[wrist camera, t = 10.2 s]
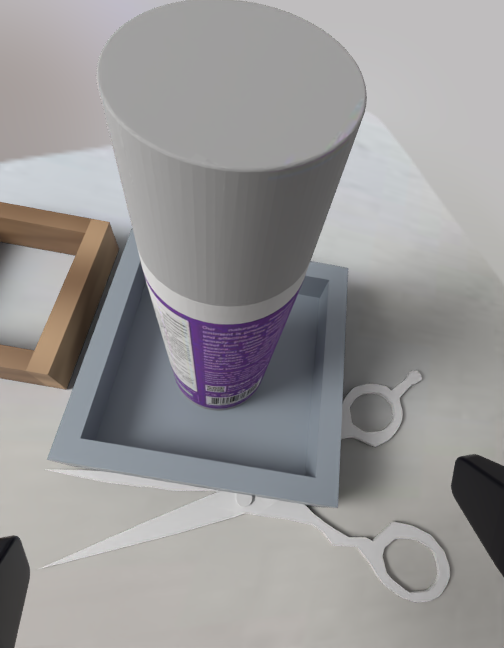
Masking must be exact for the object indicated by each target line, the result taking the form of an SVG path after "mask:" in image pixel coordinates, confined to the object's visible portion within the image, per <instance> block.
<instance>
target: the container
mask: <svg viewBox="0 0 504 648" xmlns="http://www.w3.org/2000/svg"><path fill="white" fill-rule="evenodd" d="M97 84H98V89H99V93H100V97H101V101H102V105H103V110H104V114H105V117H106V122H107V126H108V130H109V134H110V138H111V142H112V146H113V150H114V154H115V159H116V163H117V167H118V171H119V175H120V179H121V183H122V187H123V191H124V195H125V199H126V203H127V208H128V212H129V216H130V220H131V224H132V228H133V232H134V236H135V240H136V244H137V248H138V252H139V257H140V261H141V266H142V269H143V273H144V276H145V279H146V283H147V286H148V290H149V293H150V296H151V300H152V303H153V306H154V310H155V313H156V317H157V320H158V323H159V327H160V330H161V333H162V337H163V340H164V343H165V347H166V350H167V354H168V357H169V360H170V364H171V367H172V370H173V374H174V377H175V380H176V383H177V385H178V387H179V389H180V390H181V392H182V393H183V395H184V396H185V397H186V398H187V399H188V400H190V401H191V402H192V403H194V404H195V405H197V406H199V407H202V408H204V409H208V410H216V411H221V410H228V409H232V408H235V407H237V406H240V405H241V404H243V403H244V402H246V401H247V400H248V399H250V398H251V397H252V395H253V394H254V393H255V392H256V390H257V389H258V387H259V385H260V383H261V381H262V379H263V376H264V374H265V371H266V369H267V367H268V364H269V362H270V360H271V357H272V355H273V352H274V350H275V348H276V345H277V343H278V341H279V338H280V336H281V333H282V331H283V329H284V326H285V324H286V322H287V319H288V317H289V314H290V312H291V310H292V307H293V305H294V303H295V300H296V298H297V295H298V293H299V291H300V288H301V286H302V284H303V281H304V278H305V275H306V272H307V269H308V266H309V264H310V261H311V258H312V255H313V252H314V250H315V247H316V244H317V241H318V239H319V236H320V233H321V230H322V228H323V225H324V222H325V220H326V217H327V214H328V211H329V209H330V206H331V203H332V200H333V198H334V195H335V192H336V189H337V187H338V184H339V181H340V178H341V176H342V173H343V170H344V167H345V165H346V162H347V159H348V156H349V154H350V151H351V148H352V145H353V143H354V140H355V137H356V134H357V132H358V129H359V126H360V124H361V121H362V118H363V115H364V112H365V108H366V98H367V97H366V87H365V83H364V79H363V76H362V73H361V71H360V69H359V67H358V66H357V64H356V62H355V61H354V59H353V58H352V56H351V55H350V54H349V53H348V51H347V50H346V49H345V48H344V47H343V46H342V45H341V44H340V43H339V42H338V41H336V40H335V39H334V38H333V37H332V36H330V35H329V34H328V33H326V32H325V31H324V30H322V29H321V28H319V27H317V26H315V25H314V24H312V23H310V22H308V21H306V20H304V19H302V18H300V17H298V16H296V15H293V14H291V13H289V12H286V11H283V10H280V9H277V8H274V7H270V6H266V5H262V4H257V3H253V2H247V1H239V0H187V1H181V2H176V3H171V4H167V5H164V6H160V7H157V8H154V9H152V10H149V11H147V12H144V13H142V14H140V15H138V16H136V17H135V18H133V19H131V20H130V21H128V22H127V23H125V24H124V25H123V26H121V27H120V28H119V29H118V30H117V31H116V32H115V33H114V34H113V35H112V36H111V37H110V39H109V40H108V41H107V43H106V44H105V46H104V48H103V49H102V52H101V54H100V57H99V60H98V65H97Z"/></svg>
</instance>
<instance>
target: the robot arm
mask: <svg viewBox="0 0 504 648" xmlns="http://www.w3.org/2000/svg"><path fill="white" fill-rule="evenodd" d="M451 489H452V493H453V496H454V498H455V500H456V501H457V503H458V505H459V506H460V508H461V510H462V511H463V513H464V515H465V516H466V518H467V519H468V521H469V523H470V524H471V526H472V528H473V529H474V531H475V533H476V534H477V536H478V538H479V539H480V541H481V543H482V544H483V546H484V548H485V549H486V551H487V553H488V554H489V556H490V557H491V559H492V560H493V562H494V564H495V565H496V567H497V568H498V570H499V571H500V572H501V574H502V575H503V577H504V466H502V465H500V464H498V463H495V462H493V461H491V460H489V459H486V458H484V457H482V456H479V455H476V454H472V455H466V456H461V457H458V458H457V460H456V462H455V467H454V472H453V478H452V483H451ZM29 579H30V567H29V563H28V560H27V558H26V555H25V552H24V549H23V546H22V543H21V540H20V538H19V537H17V536H8V537H2V538H0V648H14V647H15V642H16V638H17V633H18V629H19V624H20V620H21V615H22V611H23V606H24V602H25V597H26V593H27V589H28V584H29Z"/></svg>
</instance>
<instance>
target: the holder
mask: <svg viewBox="0 0 504 648" xmlns="http://www.w3.org/2000/svg"><path fill="white" fill-rule="evenodd" d="M0 242H4V243H10V244H15V245H21V246H26V247H32V248H38V249H43V250H49V251H54V252H60V253H65V254H71V255H76V256H75V258H74V261H73V263H72V265H71V268H70V270H69V272H68V274H67V277H66V279H65V281H64V284H63V286H62V288H61V291H60V293H59V295H58V298H57V300H56V302H55V305H54V307H53V309H52V311H51V314H50V316H49V318H48V321H47V323H46V325H45V328H44V330H43V332H42V335H41V337H40V339H39V341H38V344H37V346H36V348H35V351H34V350H28V349H22V348H17V347H11V346H5V345H0V378H2V379H8V380H14V381H20V382H26V383H32V384H37V385H43V386H49V387H55V388H61V389H67V387H68V384H69V381H70V379H71V376H72V373H73V371H74V368H75V365H76V363H77V360H78V357H79V355H80V352H81V349H82V347H83V344H84V341H85V339H86V336H87V333H88V331H89V328H90V325H91V323H92V320H93V317H94V315H95V312H96V309H97V307H98V304H99V301H100V299H101V296H102V293H103V291H104V288H105V285H106V283H107V280H108V277H109V275H110V272H111V269H112V267H113V264H114V261H115V259H116V256H117V253H118V251H119V248H118V245H117V242H116V239H115V236H114V234H113V231H112V228H111V225H110V222H106V221H100V220H95V219H89V218H84V217H79V216H73V215H68V214H62V213H57V212H52V211H46V210H41V209H35V208H30V207H24V206H19V205H14V204H8V203H3V202H0Z"/></svg>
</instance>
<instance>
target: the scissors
mask: <svg viewBox="0 0 504 648" xmlns="http://www.w3.org/2000/svg"><path fill="white" fill-rule="evenodd" d="M420 380H422V376H421V374H420V373H419V372H418V371H417V370H416V371H411V372H409V373H408V375H407V377H406V378H405V379H404V381H403V382H401V383H400V384H398V385H397V386H396V387H395V388H393V389H392V390H390V389H389V388H388V387H387V386H384V385H378V384H372V383H368V384H365V385H361V386H357V387H354V388H352V390H351V391H350V392H349V393H348V394H347V395H346V397H345V398H344V399H343V401H342V424H341V439H346V438H355V439H358V440H360V441H362V442H364V443H366V444H368V445H370V446H372V447H376V446H378V445H380V444H382V443H384V442H386V441H388V440H389V439H391V437H392V436H393V435H394V434H395V432H396V431H397V430H398V428H399V426H400V424H401V422H402V414H403V411H402V407H401V403H400V399H399V398H400V397H401V396H402V395H403V393H404V392H405V391H406V390H407V389H408V388H409V387H410V386H411V385H414V384H416V383H417V382H419V381H420ZM365 394H379V395H380V396H382V397H384V398H385V399H386V400H387V401H388V402H389V403H390V405H391V409H392V415H393V416H392V421H391V423H390V424H389V425H388V426H387V427H386V428H385V429H383V430H381V431H377V432H364V431H363V430H361V429H360V428H358V427H357V426H355V425H354V424H352V419H351V413H350V406H351V405H352V403H353V402H354V400H355V399H356V398H357V397H358V396H360V395H365ZM44 470H49V471H53V472H58V473H62V474H67V475H72V476H77V477H82V478H87V479H92V480H97V481H102V482H107V483H112V484H124V485H131V486H138V487H154V488H159V489H165V490H170V491H218V492H216V493H213V494H211V495H209V496H206V497H204V498H201V499H199V500H197V501H194V502H192V503H189V504H187V505H185V506H182V507H180V508H177V509H175V510H173V511H170V512H168V513H165V514H163V515H161V516H158V517H156V518H153V519H151V520H149V521H146V522H144V523H142V524H139V525H137V526H135V527H132V528H130V529H128V530H126V531H123V532H121V533H119V534H117V535H114V536H112V537H110V538H107V539H105V540H103V541H101V542H98V543H96V544H94V545H92V546H89V547H87V548H85V549H83V550H80V551H78V552H76V553H73V554H71V555H69V556H67V557H64V558H62V559H60V560H58V561H55V562H53V563H51V564H49V565H46V566H44V567H42V568H45V567H49V566H53V565H57V564H61V563H65V562H69V561H73V560H77V559H80V558H84V557H88V556H92V555H96V554H100V553H104V552H108V551H112V550H116V549H120V548H124V547H127V546H131V545H135V544H139V543H143V542H147V541H151V540H155V539H159V538H163V537H167V536H170V535H174V534H178V533H181V532H185V531H188V530H192V529H195V528H199V527H202V526H206V525H209V524H213V523H216V522H219V521H223V520H226V519H230V518H233V517H236V516H239V515H242V514H245V513H247V514H252V515H257V516H265V517H273V518H281V519H287V520H291V521H295V522H300V523H304V524H310V525H313V526H314V527H316V528H317V529H319V530H320V531H322V532H323V533H324V535H325V536H326V537H327V539H328V540H329V542H330V543H331V544H332V545H334V546H352V547H357V549H358V550H359V551H360V552H361V554H362V555H363V556H364V557H365V559H366V560H367V561H368V563H369V564H370V565H371V567H372V569H373V571H374V573H375V574H376V576H377V577H378V579H379V580H380V581H381V582H382V583H383V584H384V585H385V586H386V587H388V588H389V589H390V590H391V591H393V592H394V593H395V594H397V595H398V596H399V597H401V598H404V599H406V600H409V601H412V602H415V603H417V602H426V601H432V600H433V599H435V598H437V597H439V596H440V595H441V593H442V592H443V590H444V589H445V587H446V586H447V583H448V581H449V578H450V566H449V563H448V561H447V558H446V555H445V552H444V550H443V549H442V548H441V547H440V545H439V544H438V543H437V542H436V541H435V539H434V538H433V537H432V536H431V535H430V534H428V533H426V532H424V531H422V530H420V529H418V528H416V527H414V526H412V525H408V524H403V523H398V522H393V521H392V522H391V523H390V524H389V525H387V526H386V527H385V528H384V529H383V530H382V531H381V532H380V533H379V534H378V535H377V536H376V537H375V538H374V539H373V540H370V539H368V538H366V537H348V536H346V535H344V534H342V533H341V532H339V531H337V530H336V529H334V528H333V527H331V526H330V525H328V524H327V523H325V522H324V521H322V520H321V519H320V518H319V517H317V516H316V515H315V514H314V513H313V512H312V511H311V510H310V509H309V508H308V507H307V506H306V505H305V504H299V503H293V502H287V501H281V500H275V499H269V498H262V497H256V496H251V495H245V494H239V493H232V492H226V491H220V490H213V489H207V488H201V487H195V486H189V485H183V484H177V483H171V482H165V481H159V480H153V479H147V478H141V477H135V476H129V475H123V474H117V473H111V472H105V471H92V470H61V469H44ZM396 538H397V539H412V540H416V541H418V542H420V543H421V544H423V545H425V546H426V547H428V548H429V549H430V550H431V551H432V552H433V555H434V558H435V562H436V566H437V577H436V579H435V582H434V584H433V585H431V586H430V587H429V588H428V589H427V590H423V591H413V592H408V591H406V590H405V589H404V588H402V587H401V586H400V585H399V584H397V583H396V582H395V581H394V580H392V578H391V577H390V576H389V575H388V574H387V572H386V568H385V564H384V560H383V552H384V548H385V547H386V546H387V545H388V544H390V543H391V542H392V541H393V540H394V539H396ZM39 569H41V568H39Z"/></svg>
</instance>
